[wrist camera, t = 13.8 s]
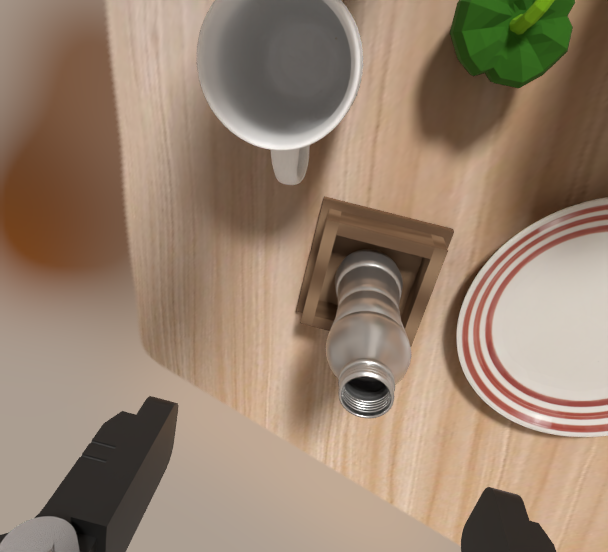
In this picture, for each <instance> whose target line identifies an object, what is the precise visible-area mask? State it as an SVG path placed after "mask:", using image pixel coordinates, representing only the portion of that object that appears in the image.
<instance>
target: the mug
mask: <svg viewBox="0 0 608 552" xmlns="http://www.w3.org/2000/svg"><path fill="white" fill-rule="evenodd" d="M362 69H363V49H362V42H361V39H360V34H359V32H358V27H357V26H356V23H355V20H354V19H353V17H352V15H351V13H350V12H349V10H348V8H347V6H345V5H344V3H343V1H341V0H215V1H214V3H213V4H212V6H211V7H210V9H209V11H208V12H207V14H206V16H205V19H204V21H203V24H202V26H201V30H200V34H199V39H198V44H197V70H198V76H199V81H200V85H201V88H202V91H203V94H204V96H205V98H206V100H207V102H208V104H209V106H210V108H211V109H212V111H213V112H214V114H215V115H216V116H217V118H218V119H219V120H220V121H221V122H222V124H223V125H224V126H225V127H226V128H227V129H229V130H230V131H231V132H232V133H233V134H235V135H236V136H237V137H239V138H240V139H242V140H244V141H246V142H248V143H249V144H252V145H254V146H257V147H260V148H264V149H269V150H271V160H272V165H273V170H274V173H275V176H276V178H277V180H278V181H279V182H280V183H283V184H286V185H296V184H299V183H300V182H301V181H302V180H303V179H304V177H305V174H306V171H307V167H308V162H309V148H310V145H311V144H313V143H315V142H317V141H319V140H320V139H322V138H323V137H325V136H326V135H327V134H329V133H330V132H331V131H332V130H333V129H334V128H335V127H336V126H337V125H338V124H339V123H340V122H341V120H342V119H343V118H344V117H345V115H346V114H347V113H348V111H349V109H350V107H351V106H352V104H353V102H354V100H355V98H356V96H357V92H358V90H359V87H360V83H361V77H362V74H363V72H362Z"/></svg>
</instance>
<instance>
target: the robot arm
mask: <svg viewBox="0 0 608 552" xmlns="http://www.w3.org/2000/svg"><path fill="white" fill-rule="evenodd" d="M177 414H178V403H174V402H170V401H167V400H162V399H158V398H155V397H151V396H150V397H148V398H147V399H146V401H145V402H144V404H143V405H142V407H141V408H140V410H139V411H138V413H137V415H135V414H131V413H127V412H124V411H122V412H120V413H119V414H117V415H116V416H114V417H113V418H111V419H110V420H108V421H107V422H105V423H104V424H103V425H102V427H101V428H100V430H99V431H98V432H97V434H96V435H95V437H94V438H93V439H92V442H91V443H90V444H89V445H88V446H87V448H86V449H85V451H84V452H83V454H82V456H81V457H80V458H79V459H78V460H77V462H76V463H75V465H74V466H73V467H72V469H71V470H70V472H69V473H68V475H67V476H66V477H65V479H64V480H63V481H62V483H61V484H60V486H59V487H58V488H57V490H56V491H55V493H54V494H53V496H52V497H51V498H50V500H49V501H48V503H47V504H46V505H45V507H44V508H43V509H42V511H41V512H40V513H39V514H38V515H37V516H36V517H35V518H34V519H31V520H28V521H26V522H24V523H22V524H20V525H19V526H17V527H15V528H14V529H13V530H12V531H10V532H9V533H6V534H3V535H0V552H126V550H127V548H128V546H129V544H130V542H131V540H132V537H133V535H134V533H135V531H136V529H137V527H138V525H139V523H140V521H141V519H142V517H143V515H144V513H145V511H146V509H147V507H148V505H149V503H150V501H151V499H152V497H153V495H154V493H155V491H156V489H157V487H158V485H159V483H160V480H161V478H162V476H163V474H164V472H165V470H166V468H167V465H168V463H169V460H170V457H171V453H172V449H173V444H174V436H175V429H176V421H177ZM461 552H556V550H555V547H554V544H553V543H552V542H551V540H550V539H549V537H548V536H547V534H546V533H545V532H544V530H543V529H542V527H541V526H540V524H539V523H536V522H532V521H529V518H528V515H527V512H526V509H525V506H524V502H523V500H522V498H521V497H520V496H519V495H517V494H513V493H509V492H506V491H502V490H498V489H494V488H490V487H487V488H486V489H485V490H484V491H483V493H482V495H481V497H480V498H479V500H478V502H477V504H476V506H475V507H474V509H473V511H472V513H471V515H470V516H469V518H468V520H467V522H466V524H465V526H464V529H463V532H462V538H461Z"/></svg>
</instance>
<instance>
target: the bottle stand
mask: <svg viewBox="0 0 608 552" xmlns="http://www.w3.org/2000/svg"><path fill="white" fill-rule="evenodd" d="M453 233H454V231H453V229H451V228H447V227H443V226H439V225H435V224H431V223H427V222H423V221H419V220H415V219H411V218H407V217H403V216H400V215H396V214H392V213H388V212H384V211H380V210H376V209H372V208H368V207H364V206H360V205H356V204H352V203H348V202H344V201H340V200H337V199H333V198H329V197H324V200H323V204H322V208H321V212H320V216H319V220H318V224H317V228H316V232H315V236H314V240H313V244H312V248H311V253H310V257H309V261H308V265H307V269H306V273H305V277H304V281H303V285H302V289H301V293H300V297H299V301H298V305H297V309H296V311H298V312H302V313H303V315H302V318H301V322H300V323H302V324H306V325H310V326H314V327H317V328H321V329H325V330H329V331H330V329H331V327H332V325H333V322H334V320H335V317H336V313H337V309H338V297H337V294H336V288H335V275H336V272H337V269H338V268H339V266H340V264H341V263H342V261H343V260H344V259H345V258H346V257H347V256H348V255H349V254H351V253H353V252H355V251H358V250H362V249H372V250H377V251H380V252H382V253H384V254H386V255H387V256H389V257H390V258H391V259H392V260H393V261H394V262H395V264H396V265H397V267H398V269H399V271H400V273H401V276H402V279H403V288H402V294H401V298H400V301H399V312H400V317H401V322H402V324H403V327H404V329H405V332H406V334H407V336H408V340H409V343H410V347H411V346H412V343H413V340H414V338H415V335H416V333H417V330H418V327H419V325H420V322H421V319H422V317H423V314H424V312H425V309H426V306H427V304H428V301H429V299H430V296H431V293H432V291H433V288H434V286H435V283H436V280H437V278H438V275H439V273H440V270H441V267H442V265H443V262H444V259H445V257H446V254H447V252H448V250H447V249H448V246H449V244H450V241H451V238H452V236H453Z"/></svg>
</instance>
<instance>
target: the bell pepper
mask: <svg viewBox="0 0 608 552" xmlns="http://www.w3.org/2000/svg"><path fill="white" fill-rule="evenodd" d="M574 4H575V0H459V2H458V3H457V7H456V11H455V15H454V18H453V22H452V26H451V30H450V35H451V38H452V42H453V45H454V48H455V52H456V55H457V58H458V60H459V61H460V63H461V64H462V65H463V66H464V68H465V69H466V70H467V71H468V73H469V74H470V75H472V76H476V75H479V74H482V73H485V74H486V76H487V77H488V79H489V80H490V81H491V82H493V83H496V84H501V85H506V86H511V87H515V88H520V87H522V86H524V85H526V84H527V83H529V82H531V81H533V80H535V79H537V78H538V77H540V76H542V75H543V74H544V73H545V72H546V71H547V70H548V69H549V68H551V67H552V66H553V65H554V64H555V63H556V62H557V61H558V60H559V59H560V58H561V57H562V56H563V55H564V54H565V53H566V52H567V50H568V46H569V41H570V37H571V33H572V28H573V27H572V25H571V23H570V20H569V18H568V14H569V12H570V10H571V9H572V7H573V5H574Z"/></svg>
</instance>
